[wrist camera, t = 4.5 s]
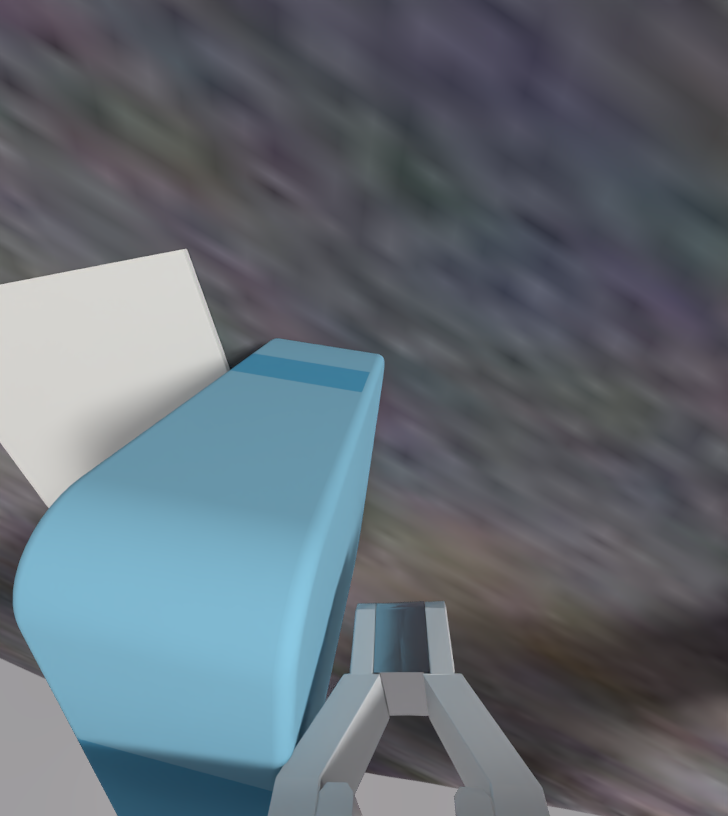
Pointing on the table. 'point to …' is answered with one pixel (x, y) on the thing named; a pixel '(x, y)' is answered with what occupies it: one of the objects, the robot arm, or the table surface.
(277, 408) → the data package
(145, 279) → the mat
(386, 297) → the table surface
